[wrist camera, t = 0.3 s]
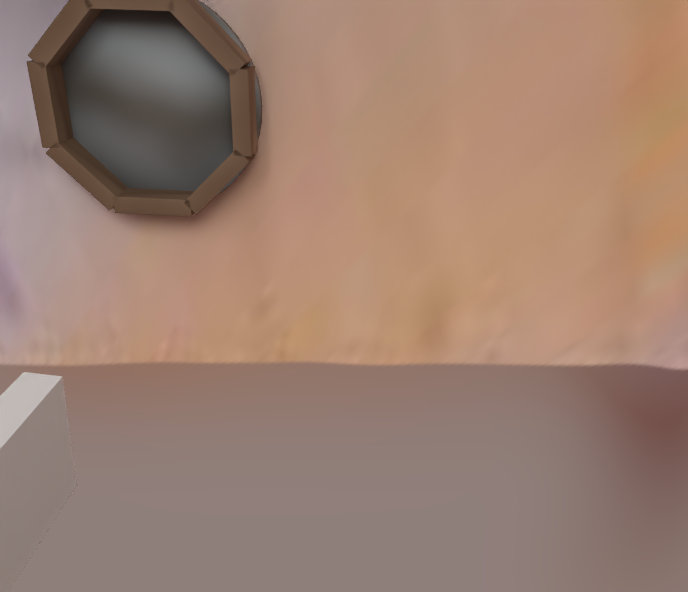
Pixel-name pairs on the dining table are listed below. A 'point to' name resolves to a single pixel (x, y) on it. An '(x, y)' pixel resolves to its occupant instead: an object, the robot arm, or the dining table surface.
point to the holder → (146, 102)
